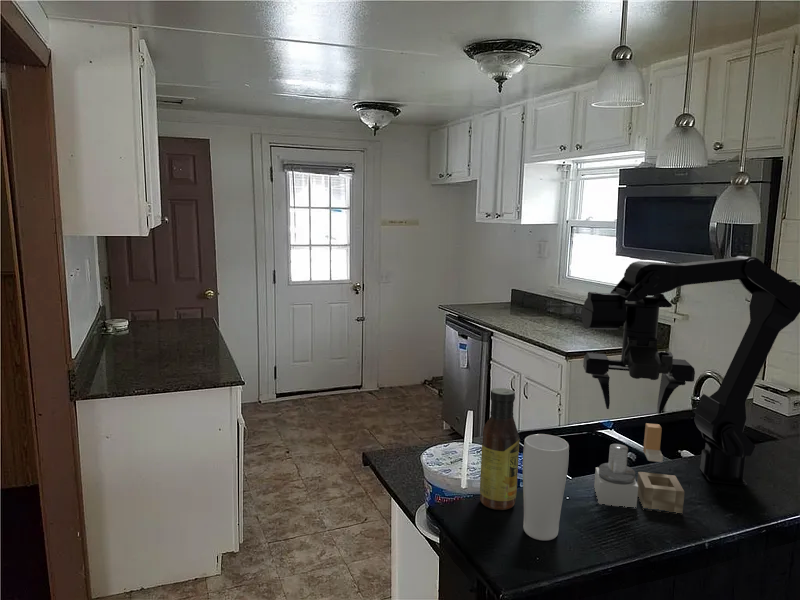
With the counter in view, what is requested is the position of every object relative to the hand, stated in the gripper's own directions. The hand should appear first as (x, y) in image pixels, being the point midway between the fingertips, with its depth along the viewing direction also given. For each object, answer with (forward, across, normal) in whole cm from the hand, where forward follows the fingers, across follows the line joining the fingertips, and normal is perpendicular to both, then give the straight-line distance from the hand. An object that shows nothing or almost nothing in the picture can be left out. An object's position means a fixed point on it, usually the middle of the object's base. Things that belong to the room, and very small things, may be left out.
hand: (633, 410), depth 110 cm
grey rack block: (+13, -4, -10) cm, 17 cm away
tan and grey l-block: (+7, +3, -3) cm, 9 cm away
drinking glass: (+13, -17, -25) cm, 33 cm away
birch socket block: (+13, +4, -10) cm, 17 cm away
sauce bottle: (+13, -24, -17) cm, 32 cm away
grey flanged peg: (+13, -4, -10) cm, 17 cm away
